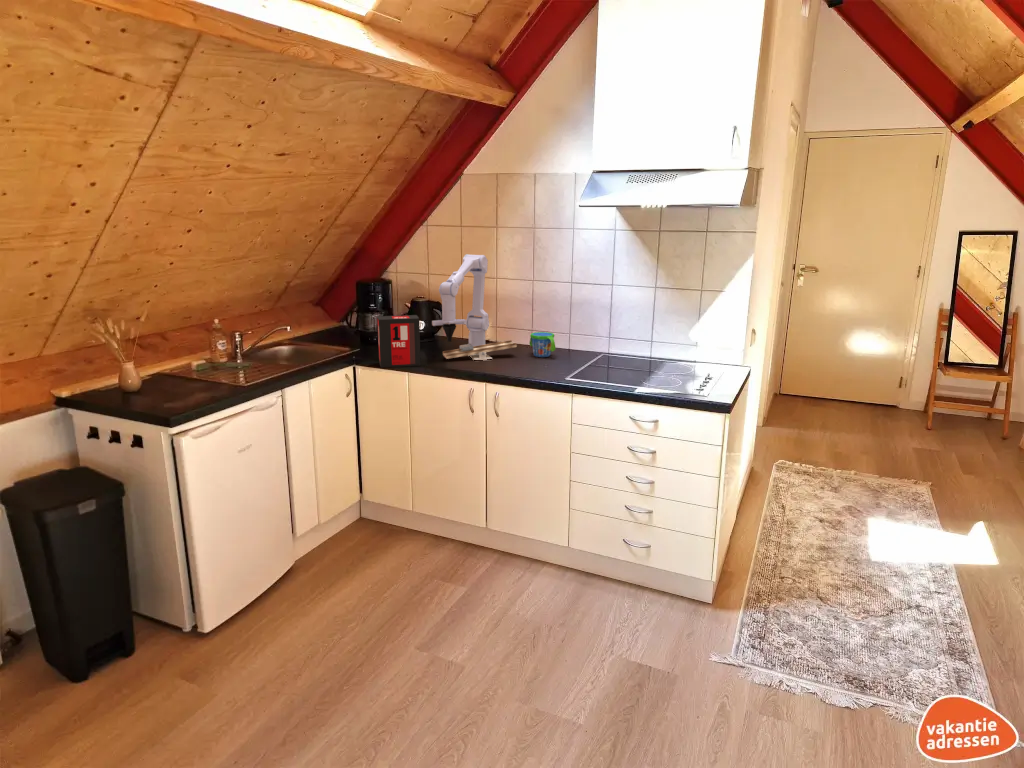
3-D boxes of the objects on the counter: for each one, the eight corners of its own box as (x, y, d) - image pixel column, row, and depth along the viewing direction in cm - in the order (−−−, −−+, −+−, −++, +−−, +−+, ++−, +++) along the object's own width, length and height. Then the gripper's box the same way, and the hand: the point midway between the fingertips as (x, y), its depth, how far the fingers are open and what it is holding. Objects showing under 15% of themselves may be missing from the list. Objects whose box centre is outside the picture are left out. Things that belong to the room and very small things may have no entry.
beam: (446, 359, 287) (446, 354, 286) (443, 355, 293) (442, 351, 293) (516, 347, 296) (516, 343, 295) (511, 344, 302) (511, 340, 302)
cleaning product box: (380, 367, 276) (378, 319, 271) (379, 362, 284) (377, 316, 279) (420, 365, 280) (419, 318, 275) (417, 360, 288) (416, 315, 283)
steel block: (459, 350, 294) (459, 345, 293) (470, 349, 295) (470, 343, 295) (462, 353, 290) (462, 347, 289) (473, 351, 291) (473, 345, 290)
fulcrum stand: (468, 355, 299) (468, 347, 298) (485, 354, 301) (485, 347, 301) (474, 361, 289) (474, 352, 288) (492, 359, 291) (492, 351, 290)
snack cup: (522, 354, 304) (523, 332, 301) (542, 351, 309) (542, 330, 307) (541, 360, 291) (542, 337, 289) (561, 358, 296) (562, 335, 294)
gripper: (434, 312, 279) (434, 343, 283) (467, 310, 284) (467, 342, 287) (430, 309, 286) (431, 340, 289) (463, 308, 290) (463, 339, 294)
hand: (449, 341), depth 289 cm, fingers closed
